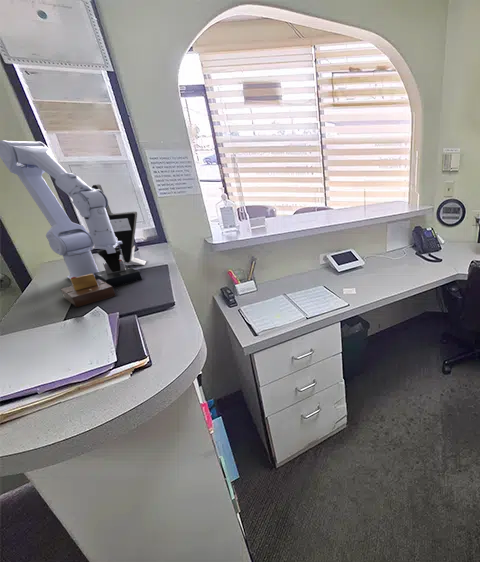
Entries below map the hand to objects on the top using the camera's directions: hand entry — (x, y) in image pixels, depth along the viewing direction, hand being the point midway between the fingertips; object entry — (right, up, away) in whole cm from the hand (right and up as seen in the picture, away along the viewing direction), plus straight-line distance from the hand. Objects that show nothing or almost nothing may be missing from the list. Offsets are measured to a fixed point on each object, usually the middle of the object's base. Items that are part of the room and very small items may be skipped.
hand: (116, 270), depth 102 cm
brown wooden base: (+2, -8, -11) cm, 14 cm away
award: (-9, +2, +17) cm, 19 cm away
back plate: (0, -3, +1) cm, 3 cm away
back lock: (0, 0, 0) cm, 0 cm away
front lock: (+2, -5, -12) cm, 13 cm away
